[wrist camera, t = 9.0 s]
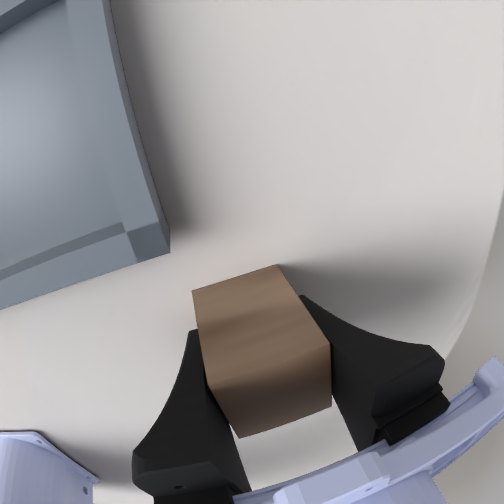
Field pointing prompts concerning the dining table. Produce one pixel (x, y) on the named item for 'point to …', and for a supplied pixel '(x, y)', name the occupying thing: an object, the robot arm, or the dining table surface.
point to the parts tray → (69, 152)
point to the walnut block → (262, 351)
